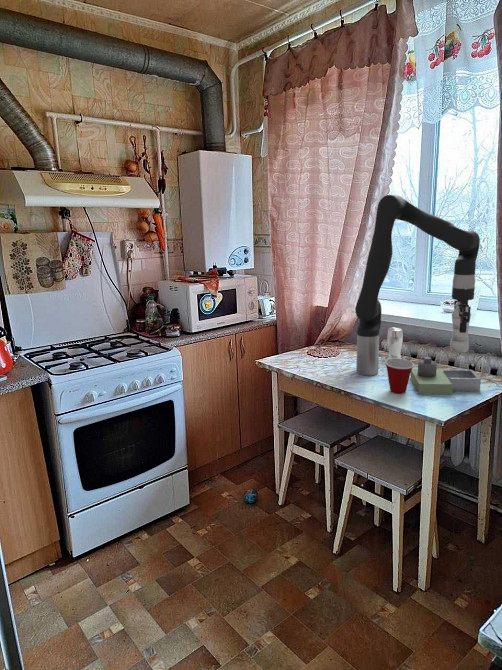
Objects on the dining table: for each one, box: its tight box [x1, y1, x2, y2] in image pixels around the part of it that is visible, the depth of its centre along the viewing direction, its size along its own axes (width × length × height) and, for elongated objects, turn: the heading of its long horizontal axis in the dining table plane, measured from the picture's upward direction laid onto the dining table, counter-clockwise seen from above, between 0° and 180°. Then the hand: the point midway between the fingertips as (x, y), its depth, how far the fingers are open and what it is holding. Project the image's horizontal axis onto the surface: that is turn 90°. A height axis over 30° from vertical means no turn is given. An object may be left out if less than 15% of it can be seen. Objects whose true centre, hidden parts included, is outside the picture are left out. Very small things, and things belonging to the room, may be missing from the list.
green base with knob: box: [409, 356, 453, 395], centre depth 182 cm, size 12×18×11 cm, turn 171°
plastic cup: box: [384, 358, 415, 395], centre depth 178 cm, size 11×11×12 cm
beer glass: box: [386, 327, 404, 359], centre depth 217 cm, size 7×7×15 cm
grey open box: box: [442, 369, 482, 392], centre depth 181 cm, size 11×11×5 cm
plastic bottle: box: [449, 300, 472, 354], centre depth 173 cm, size 6×7×20 cm
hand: (460, 330), depth 174 cm, fingers closed on plastic bottle, 6 cm apart
